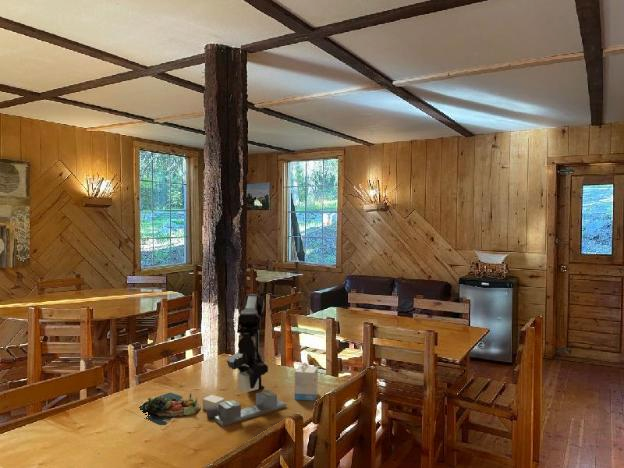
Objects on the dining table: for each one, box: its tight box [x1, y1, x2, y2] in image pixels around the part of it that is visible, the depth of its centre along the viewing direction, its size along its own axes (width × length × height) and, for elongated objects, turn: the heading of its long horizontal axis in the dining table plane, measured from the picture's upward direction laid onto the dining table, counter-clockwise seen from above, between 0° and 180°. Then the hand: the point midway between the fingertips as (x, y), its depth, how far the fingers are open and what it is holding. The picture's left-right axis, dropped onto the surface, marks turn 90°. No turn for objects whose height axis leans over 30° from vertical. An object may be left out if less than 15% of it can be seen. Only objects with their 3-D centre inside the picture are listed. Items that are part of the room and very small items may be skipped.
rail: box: [214, 389, 287, 427], centre depth 173 cm, size 6×28×6 cm, turn 128°
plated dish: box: [139, 392, 201, 427], centre depth 177 cm, size 35×28×7 cm
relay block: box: [202, 394, 226, 411], centre depth 178 cm, size 7×5×4 cm
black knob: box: [206, 406, 218, 420], centre depth 171 cm, size 4×4×3 cm
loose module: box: [237, 371, 260, 393], centre depth 172 cm, size 5×6×6 cm
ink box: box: [294, 361, 319, 402], centre depth 191 cm, size 9×8×13 cm
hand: (248, 386), depth 172 cm, fingers closed on loose module, 5 cm apart
